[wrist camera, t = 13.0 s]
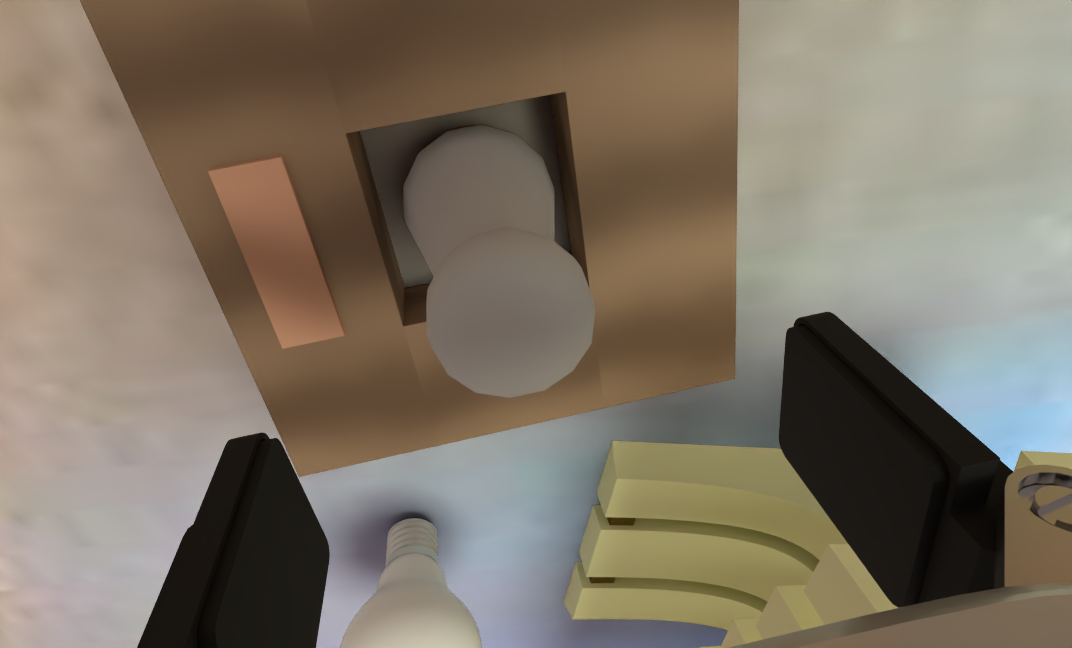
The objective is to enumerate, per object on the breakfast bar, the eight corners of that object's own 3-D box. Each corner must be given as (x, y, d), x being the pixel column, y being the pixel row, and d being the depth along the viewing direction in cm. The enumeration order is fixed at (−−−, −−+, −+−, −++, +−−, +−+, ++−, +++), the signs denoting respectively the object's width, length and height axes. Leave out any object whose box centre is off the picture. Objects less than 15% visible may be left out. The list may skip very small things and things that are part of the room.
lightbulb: (456, 570, 37) (469, 776, 28) (344, 563, 35) (318, 779, 26) (482, 489, 34) (506, 686, 25) (362, 477, 33) (340, 683, 23)
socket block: (110, -44, 21) (52, -48, 17) (696, -142, 22) (744, -162, 19) (310, 427, 31) (298, 481, 27) (705, 340, 32) (737, 382, 29)
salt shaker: (537, 251, 28) (616, 433, 17) (406, 250, 27) (398, 444, 16) (547, 115, 25) (650, 226, 14) (402, 109, 24) (388, 223, 13)
